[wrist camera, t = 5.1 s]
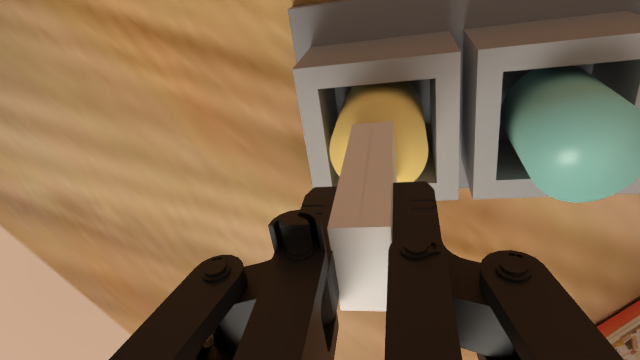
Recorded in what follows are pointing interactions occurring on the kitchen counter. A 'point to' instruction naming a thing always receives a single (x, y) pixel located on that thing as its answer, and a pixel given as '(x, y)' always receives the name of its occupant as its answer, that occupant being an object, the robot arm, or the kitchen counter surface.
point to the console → (456, 74)
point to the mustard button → (385, 106)
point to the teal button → (572, 133)
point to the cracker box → (624, 332)
